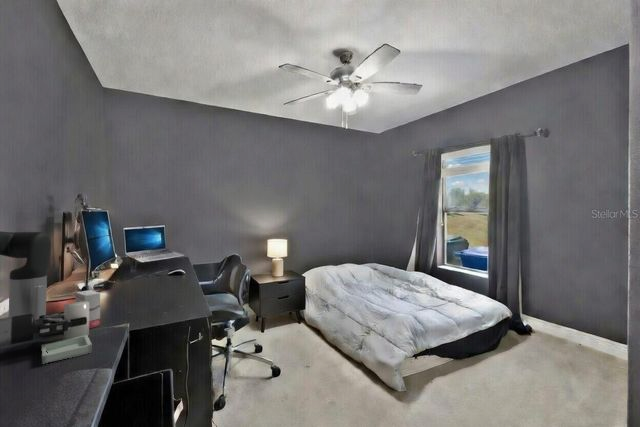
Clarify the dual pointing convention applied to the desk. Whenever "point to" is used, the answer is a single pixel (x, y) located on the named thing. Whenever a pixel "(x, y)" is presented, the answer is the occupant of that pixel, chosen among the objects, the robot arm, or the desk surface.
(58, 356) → the tray
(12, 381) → the desk surface
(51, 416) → the desk surface
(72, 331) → the white pillar candle
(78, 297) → the ink box
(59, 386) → the desk surface
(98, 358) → the desk surface
